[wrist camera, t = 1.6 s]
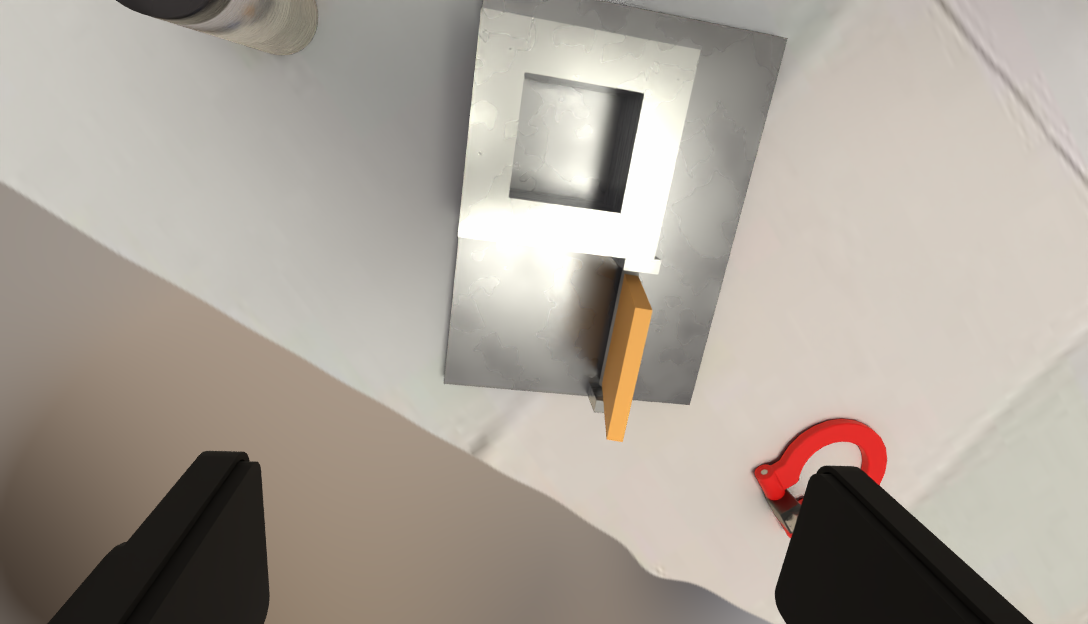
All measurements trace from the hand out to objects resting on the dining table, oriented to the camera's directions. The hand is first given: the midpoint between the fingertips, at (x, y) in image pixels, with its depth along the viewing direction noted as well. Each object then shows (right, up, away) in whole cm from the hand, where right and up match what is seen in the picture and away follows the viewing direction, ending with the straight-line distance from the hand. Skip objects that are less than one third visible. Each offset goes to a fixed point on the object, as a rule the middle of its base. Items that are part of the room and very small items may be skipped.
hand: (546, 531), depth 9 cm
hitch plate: (+3, +9, +23) cm, 25 cm away
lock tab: (+4, +3, +23) cm, 24 cm away
